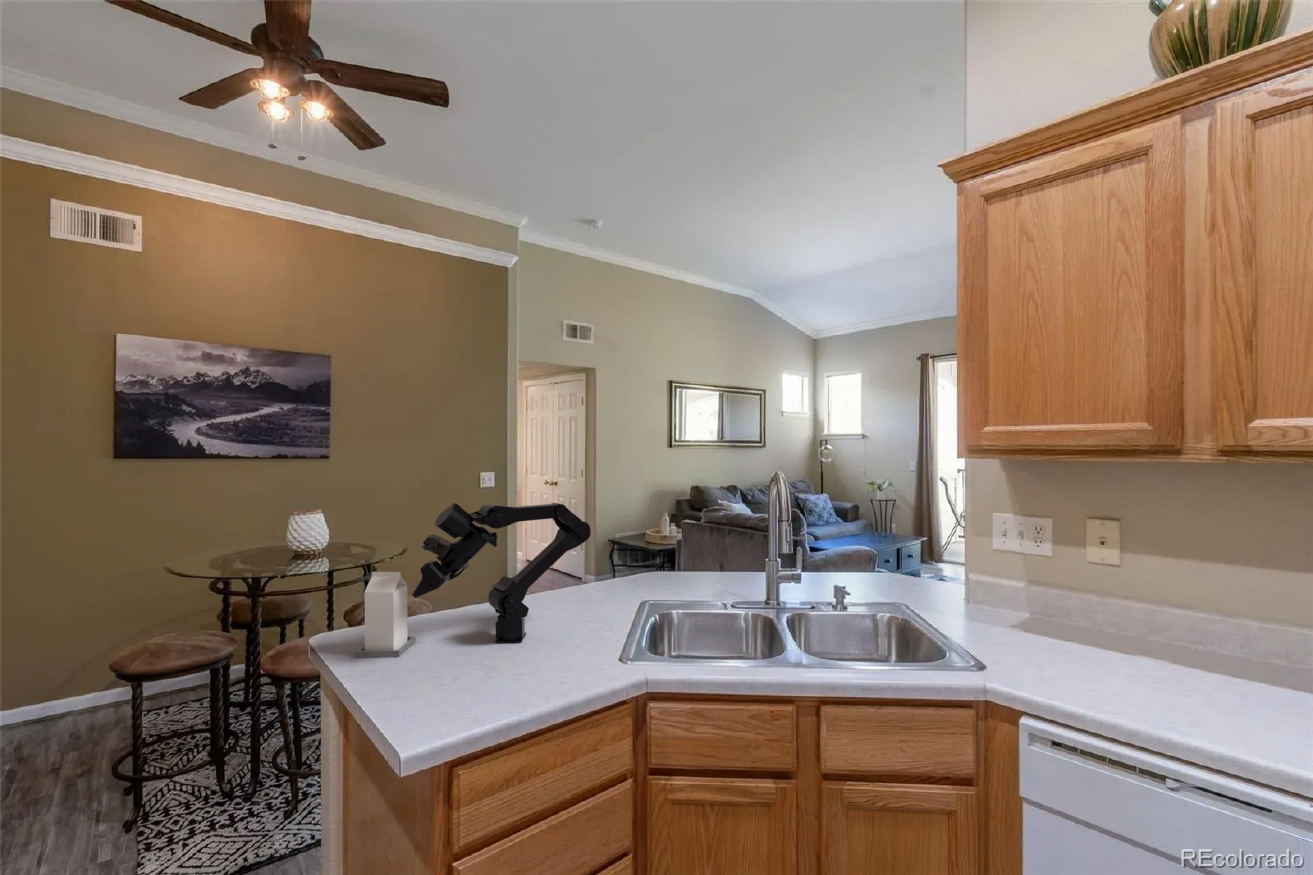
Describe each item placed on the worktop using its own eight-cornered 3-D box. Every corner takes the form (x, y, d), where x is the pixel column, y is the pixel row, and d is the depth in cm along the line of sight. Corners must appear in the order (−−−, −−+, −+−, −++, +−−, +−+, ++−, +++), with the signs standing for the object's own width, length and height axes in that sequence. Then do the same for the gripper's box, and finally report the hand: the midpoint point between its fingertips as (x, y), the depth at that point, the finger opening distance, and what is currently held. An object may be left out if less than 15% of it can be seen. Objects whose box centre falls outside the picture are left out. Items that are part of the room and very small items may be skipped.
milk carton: (393, 655, 138) (393, 575, 138) (364, 655, 138) (364, 575, 138) (407, 644, 145) (407, 568, 145) (379, 644, 145) (379, 568, 145)
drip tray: (415, 642, 147) (415, 636, 147) (398, 657, 136) (398, 650, 136) (375, 643, 146) (375, 637, 146) (355, 658, 136) (355, 651, 136)
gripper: (457, 519, 152) (414, 561, 152) (430, 528, 133) (381, 576, 133) (486, 549, 152) (443, 591, 151) (463, 563, 133) (414, 611, 133)
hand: (421, 591), depth 142 cm, fingers open, 9 cm apart
